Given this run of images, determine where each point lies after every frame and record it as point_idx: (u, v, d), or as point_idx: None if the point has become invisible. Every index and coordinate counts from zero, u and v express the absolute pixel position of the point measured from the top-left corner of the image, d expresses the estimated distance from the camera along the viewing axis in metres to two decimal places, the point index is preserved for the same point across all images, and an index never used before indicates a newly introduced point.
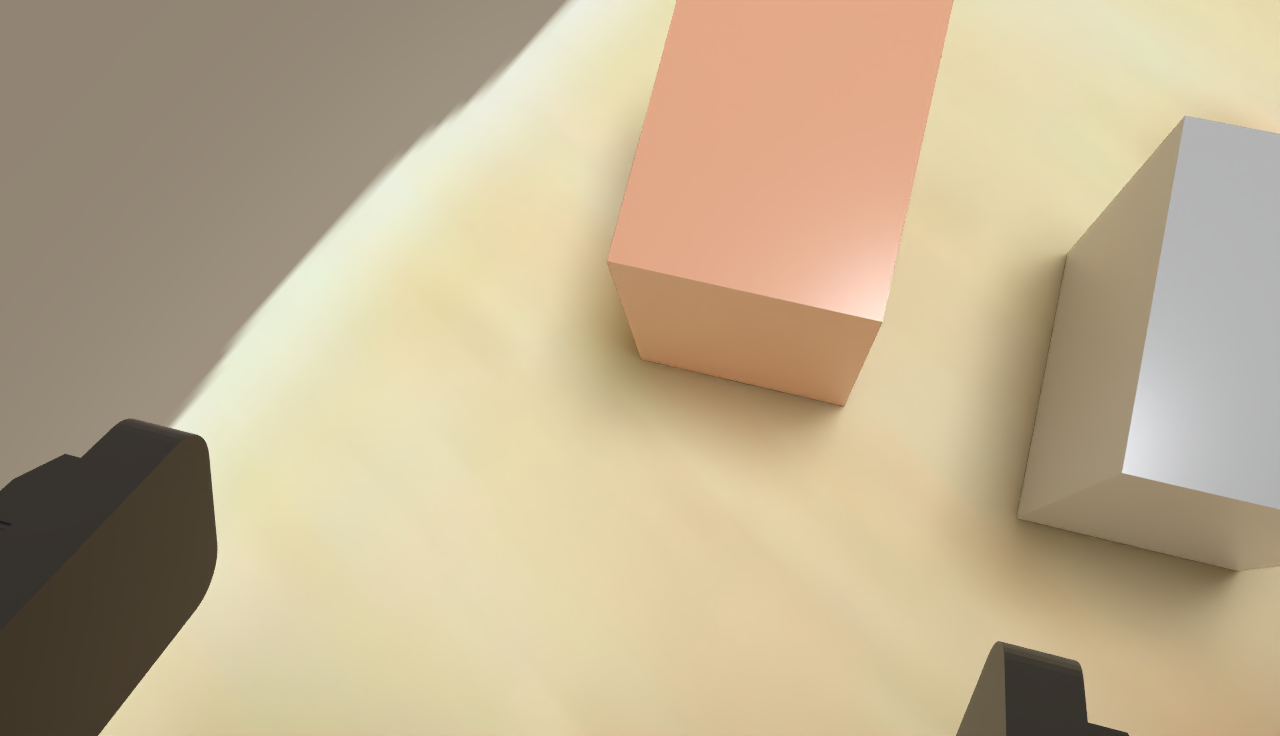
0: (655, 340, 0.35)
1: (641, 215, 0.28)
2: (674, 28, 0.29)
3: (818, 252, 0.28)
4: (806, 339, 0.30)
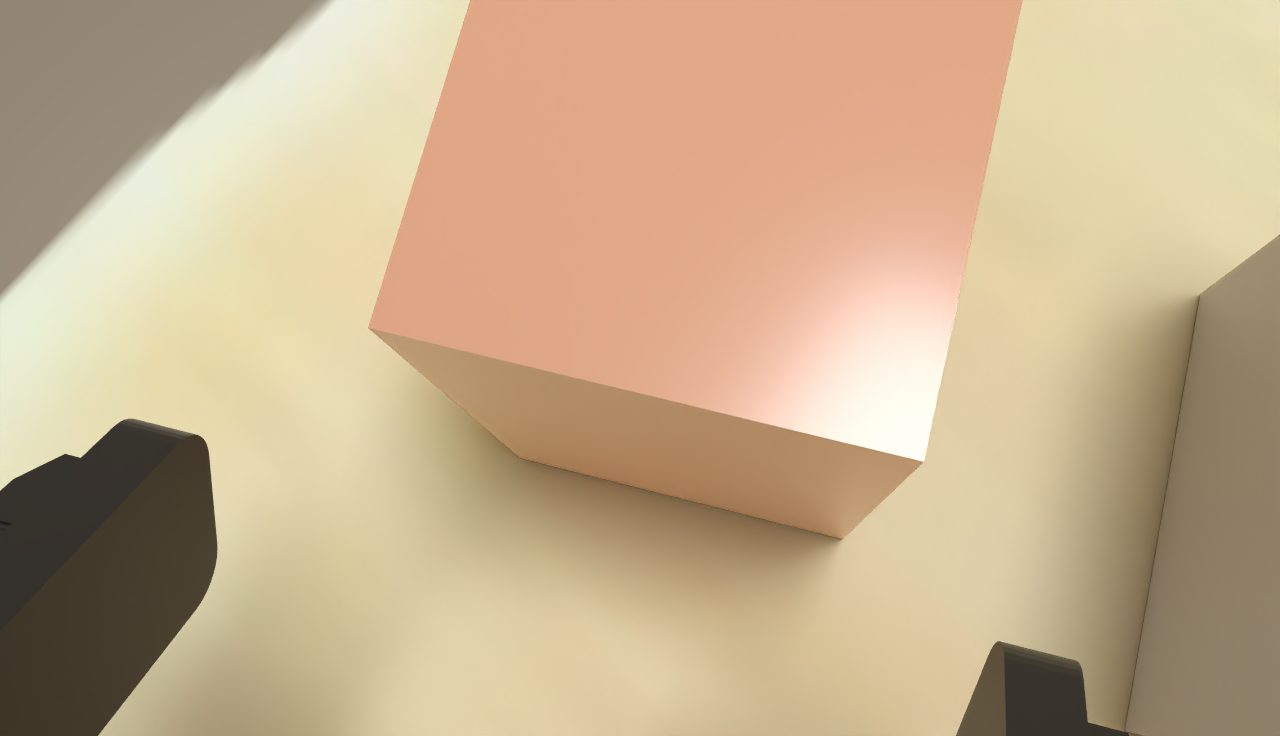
0: (526, 441, 0.21)
1: (440, 236, 0.14)
2: None
3: (792, 314, 0.14)
4: (773, 466, 0.16)
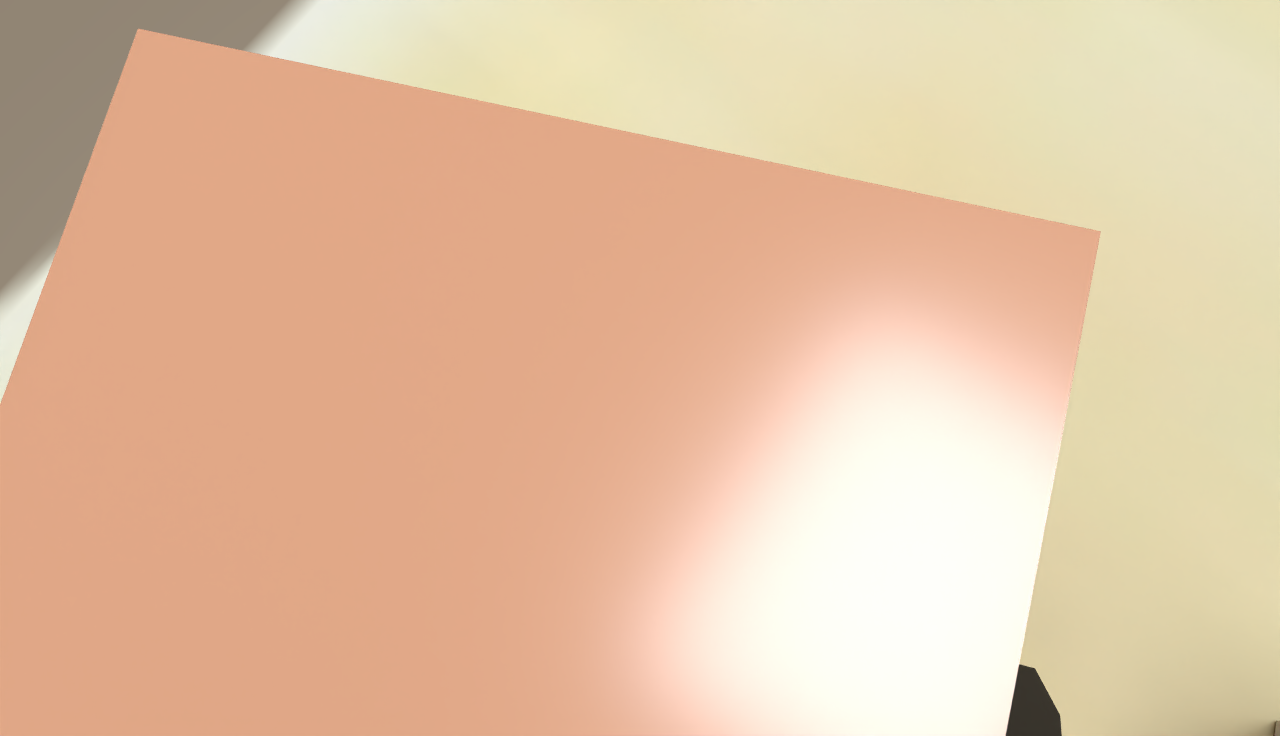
0: None
1: None
2: (30, 373, 0.08)
3: None
4: None
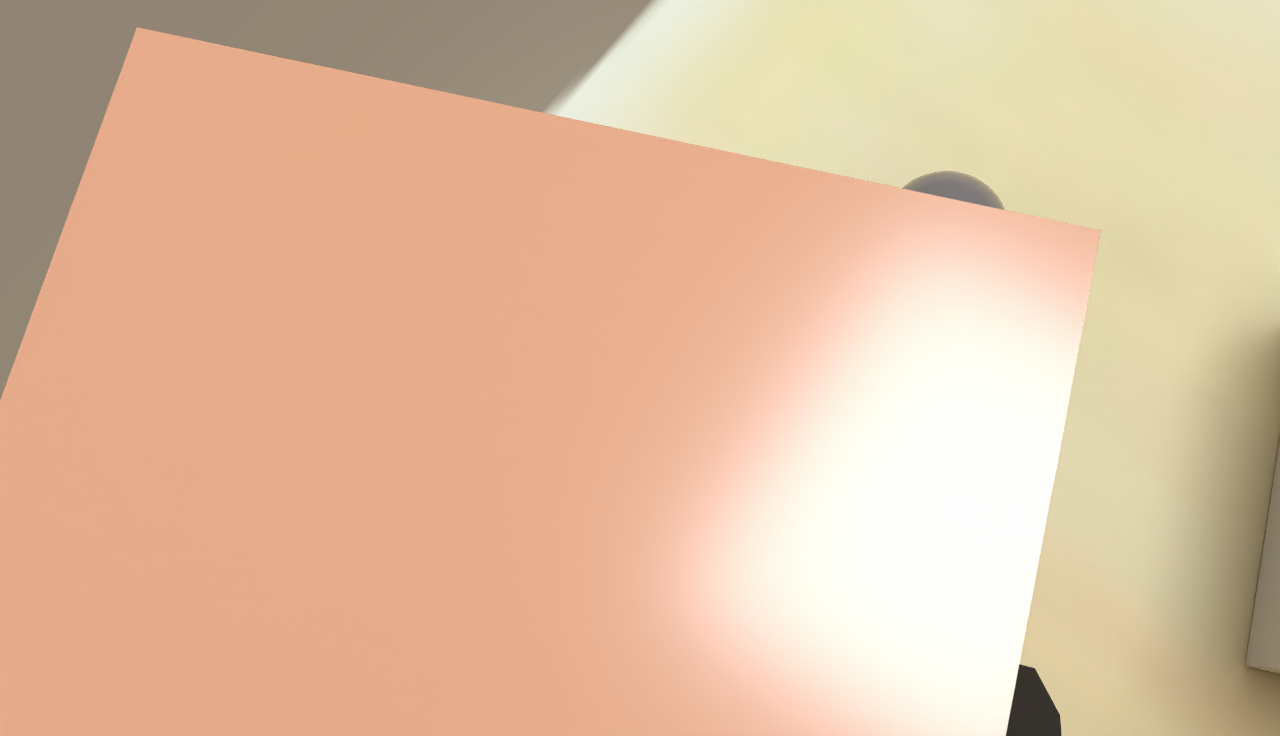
0: None
1: None
2: (30, 372, 0.08)
3: None
4: None
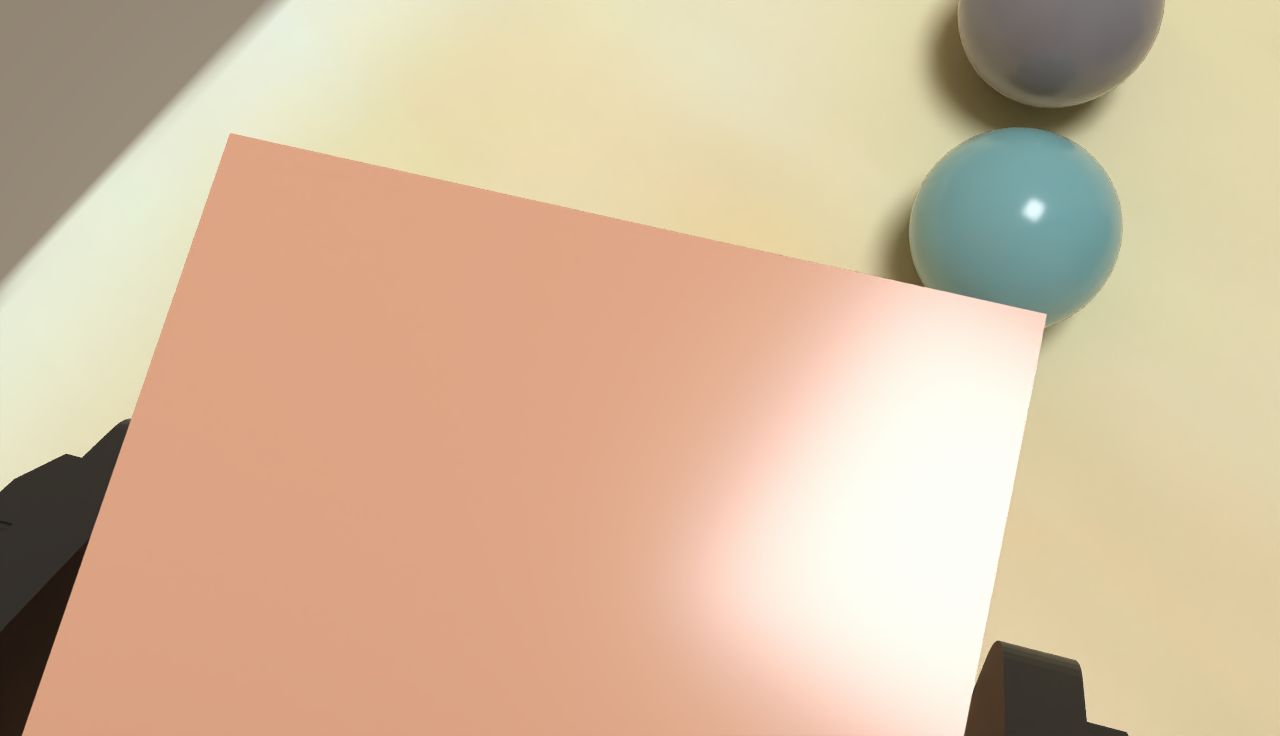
0: None
1: None
2: (143, 429, 0.09)
3: None
4: None
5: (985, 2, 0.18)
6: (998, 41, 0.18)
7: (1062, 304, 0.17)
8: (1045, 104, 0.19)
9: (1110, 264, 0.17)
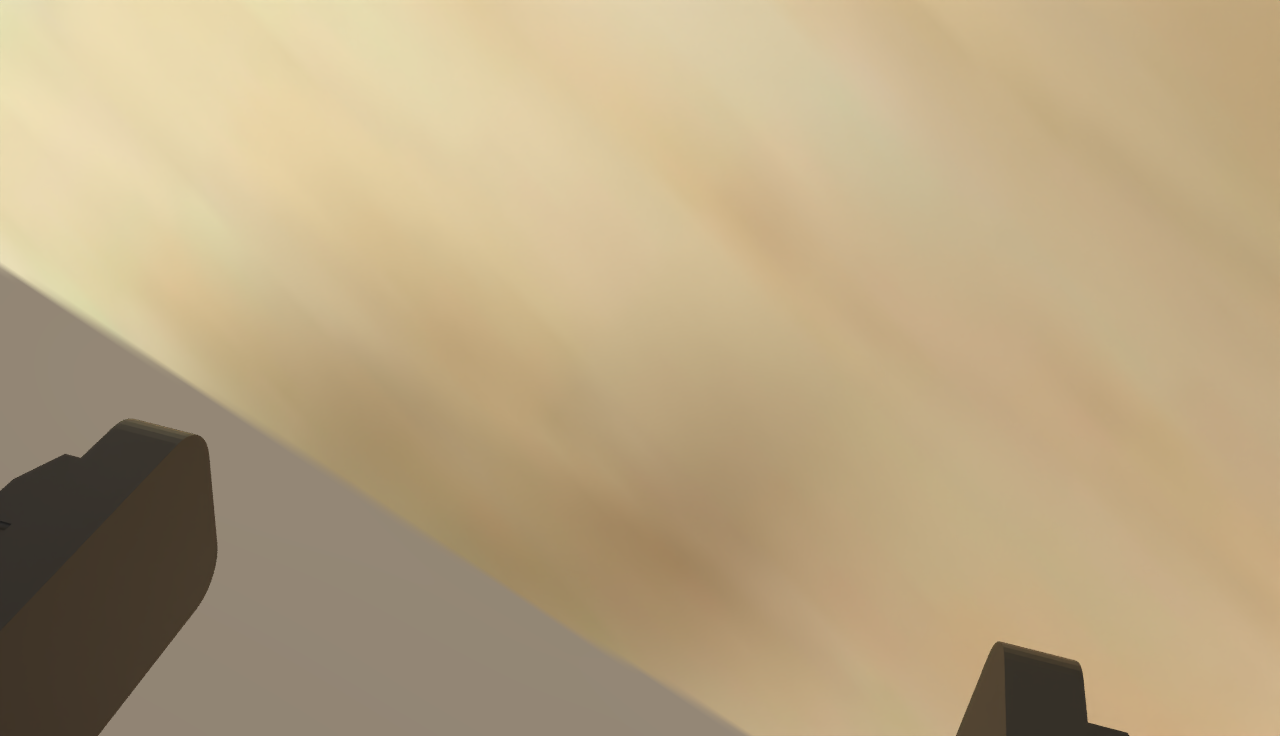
0: None
1: None
2: None
3: None
4: None
5: None
6: None
7: None
8: None
9: None
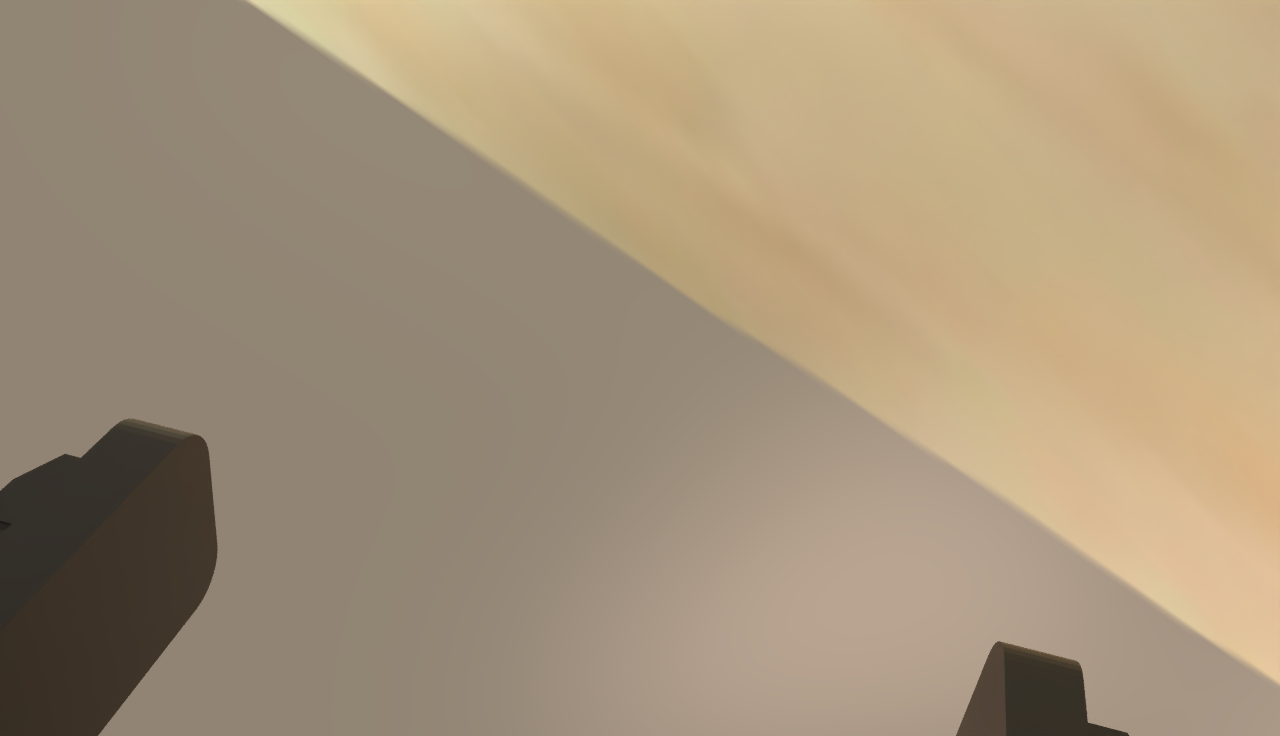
0: None
1: None
2: None
3: None
4: None
5: None
6: None
7: None
8: None
9: None
